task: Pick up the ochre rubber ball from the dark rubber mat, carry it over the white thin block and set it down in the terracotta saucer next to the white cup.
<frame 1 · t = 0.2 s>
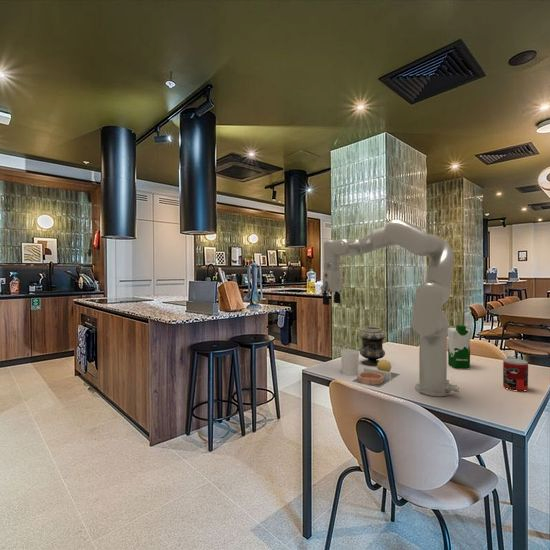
hand: (331, 303, 161), 31 cm above the table, fingers open, 9 cm apart
saucer: (370, 382, 144), resting on mat
canned food: (515, 389, 135), on the table
mat: (376, 378, 149), on the table
white cup: (349, 374, 156), on the table
white thin block: (377, 378, 149), resting on mat
apothecary jar: (372, 364, 171), on the table
milk carton: (458, 367, 165), on the table
ball: (384, 373, 155), resting on mat
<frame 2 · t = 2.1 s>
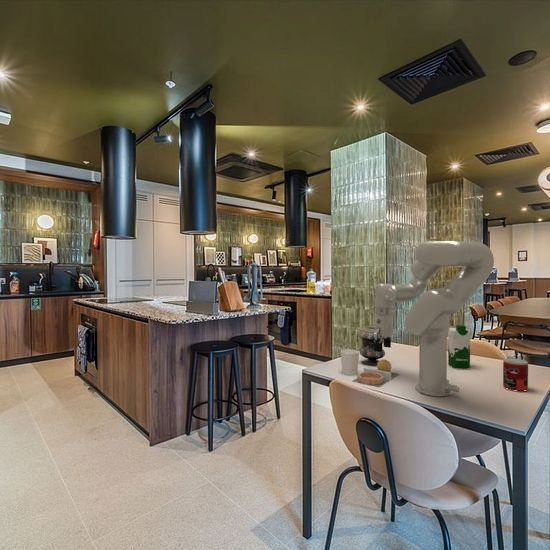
hand: (382, 349, 155), 11 cm above the table, fingers open, 9 cm apart
nothing on the table moved.
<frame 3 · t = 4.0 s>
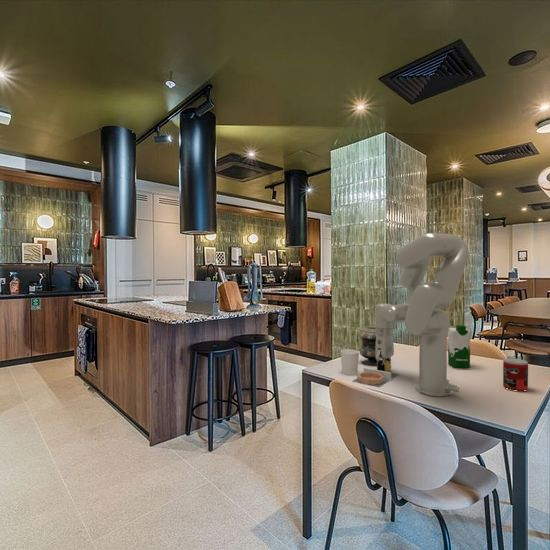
hand: (384, 371, 155), 1 cm above the table, fingers closed on ball, 5 cm apart
ball: (384, 373, 155), resting on mat, touching gripper
everything else where it was.
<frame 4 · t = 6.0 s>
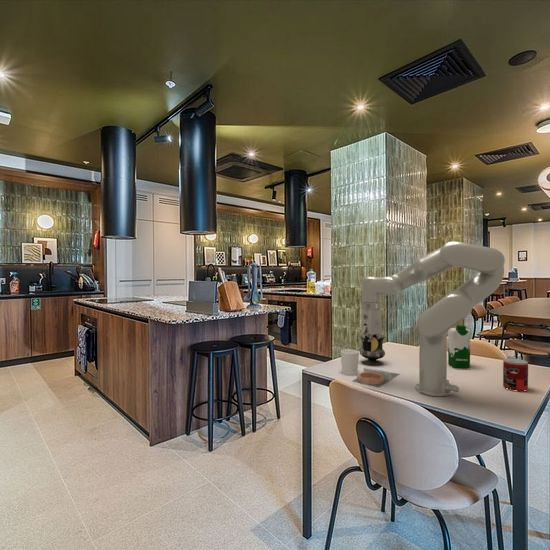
hand: (370, 349, 144), 14 cm above the table, fingers closed on ball, 5 cm apart
ball: (370, 350, 145), point 13 cm above the table, touching gripper
everything else where it was.
when the fingers open (4 cm above the table, at t = 8.5 s): ball drops 2 cm, resting on saucer.
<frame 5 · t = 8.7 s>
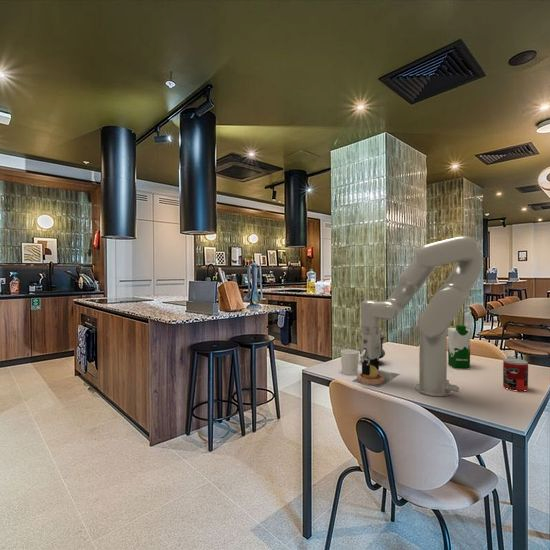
hand: (370, 371, 144), 4 cm above the table, fingers open, 8 cm apart
ball: (370, 379, 144), point 1 cm above the table, touching saucer
everything else where it was.
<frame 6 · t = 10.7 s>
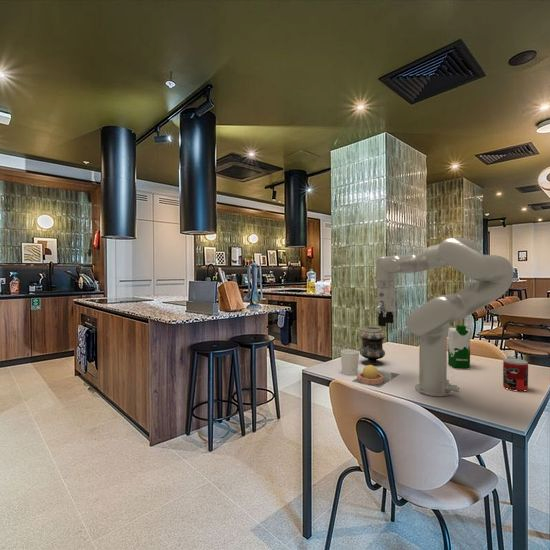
hand: (385, 324, 151), 23 cm above the table, fingers open, 9 cm apart
nothing on the table moved.
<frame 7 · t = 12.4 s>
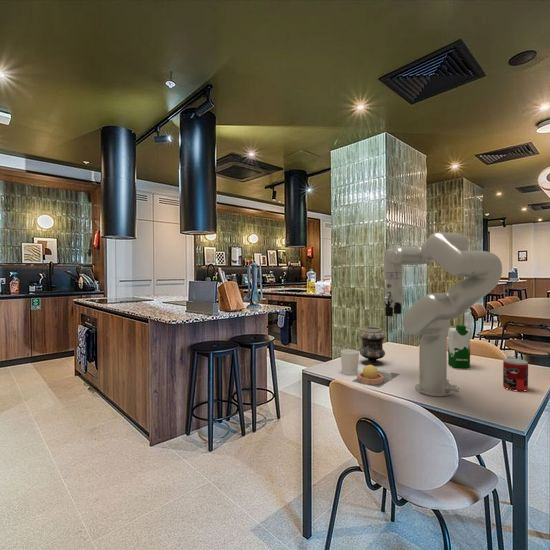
hand: (393, 314, 155), 26 cm above the table, fingers open, 9 cm apart
nothing on the table moved.
at the end: ball 0.0 cm off-centre on the saucer, point 1.0 cm above the saucer's base; the gripper is holding nothing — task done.
